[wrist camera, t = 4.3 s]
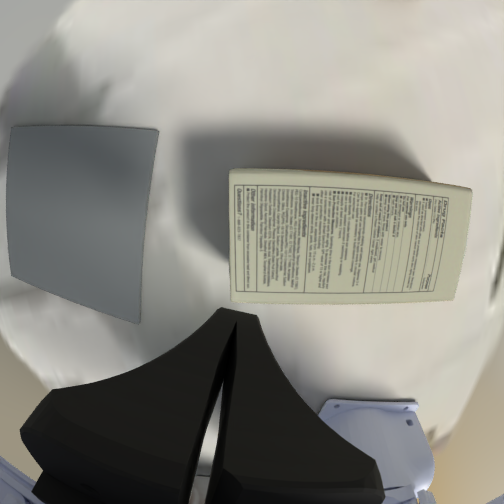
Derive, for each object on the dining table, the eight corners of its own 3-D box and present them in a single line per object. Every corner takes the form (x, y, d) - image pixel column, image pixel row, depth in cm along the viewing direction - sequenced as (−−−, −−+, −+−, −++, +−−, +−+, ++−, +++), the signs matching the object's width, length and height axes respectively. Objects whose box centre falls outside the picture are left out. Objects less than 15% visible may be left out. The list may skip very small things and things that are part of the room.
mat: (159, 131, 15) (157, 130, 15) (140, 322, 19) (138, 324, 19) (14, 127, 15) (11, 127, 15) (13, 274, 19) (11, 275, 19)
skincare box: (236, 271, 17) (421, 278, 17) (226, 305, 13) (453, 307, 13) (238, 162, 16) (436, 181, 15) (227, 161, 11) (476, 189, 11)
